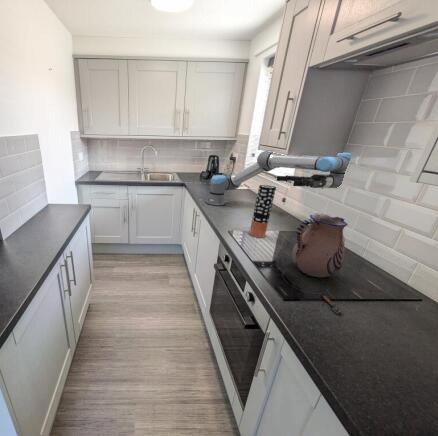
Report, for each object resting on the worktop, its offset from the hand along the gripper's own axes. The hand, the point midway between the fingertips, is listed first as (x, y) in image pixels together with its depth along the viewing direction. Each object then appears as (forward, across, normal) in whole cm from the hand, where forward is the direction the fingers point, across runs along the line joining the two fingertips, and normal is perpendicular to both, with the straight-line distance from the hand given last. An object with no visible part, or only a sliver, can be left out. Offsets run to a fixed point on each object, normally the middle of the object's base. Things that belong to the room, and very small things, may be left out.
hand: (285, 180), depth 126 cm
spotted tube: (+10, 0, -23) cm, 25 cm away
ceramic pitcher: (+9, -39, -32) cm, 52 cm away
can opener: (+18, -59, -32) cm, 70 cm away
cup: (+10, 0, -32) cm, 34 cm away
